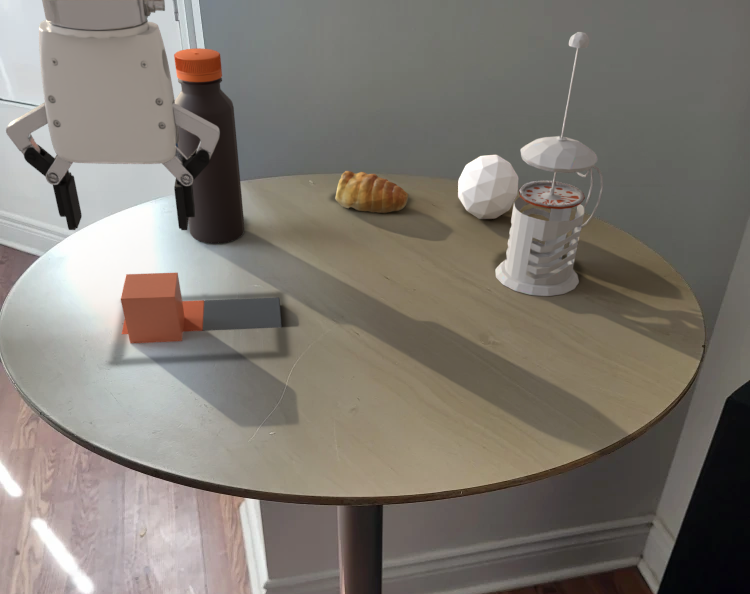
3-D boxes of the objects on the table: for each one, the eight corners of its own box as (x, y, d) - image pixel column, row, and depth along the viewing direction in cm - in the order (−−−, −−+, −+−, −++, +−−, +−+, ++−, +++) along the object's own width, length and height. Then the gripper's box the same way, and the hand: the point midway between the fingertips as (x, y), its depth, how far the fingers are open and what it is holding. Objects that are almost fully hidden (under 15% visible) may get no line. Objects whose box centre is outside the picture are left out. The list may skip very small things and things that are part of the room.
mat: (116, 372, 74) (114, 365, 74) (129, 309, 83) (127, 303, 82) (284, 364, 76) (284, 357, 75) (279, 303, 85) (279, 297, 84)
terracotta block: (130, 345, 76) (120, 298, 73) (135, 319, 80) (125, 274, 76) (182, 342, 77) (174, 296, 73) (184, 317, 80) (177, 272, 77)
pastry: (412, 200, 106) (414, 172, 104) (399, 220, 102) (400, 191, 99) (347, 191, 108) (347, 162, 106) (331, 209, 103) (331, 180, 101)
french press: (478, 267, 92) (508, 25, 75) (554, 248, 97) (599, 15, 80) (529, 303, 86) (574, 49, 69) (608, 281, 90) (669, 37, 73)
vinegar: (178, 235, 96) (151, 54, 83) (215, 217, 101) (195, 42, 87) (219, 250, 94) (198, 65, 80) (256, 230, 98) (241, 52, 84)
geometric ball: (468, 231, 106) (453, 171, 105) (526, 213, 104) (512, 152, 103) (462, 224, 99) (447, 160, 98) (525, 204, 97) (509, 138, 95)
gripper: (211, 0, 63) (227, 208, 75) (-13, -9, 61) (39, 207, 72) (209, 21, 58) (225, 242, 69) (-38, 12, 55) (22, 242, 67)
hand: (130, 224), depth 71 cm, fingers open, 9 cm apart
